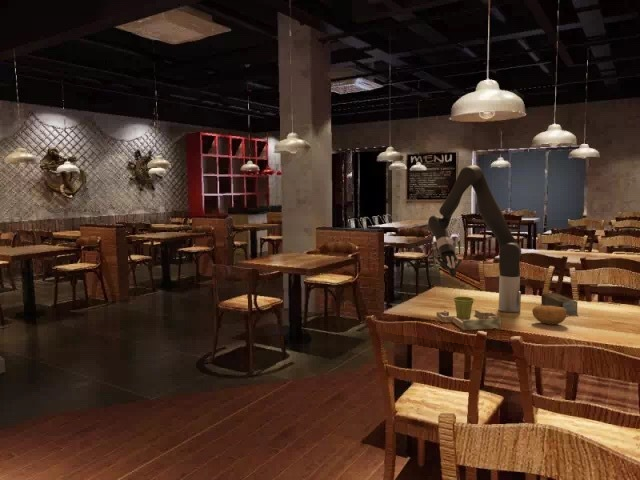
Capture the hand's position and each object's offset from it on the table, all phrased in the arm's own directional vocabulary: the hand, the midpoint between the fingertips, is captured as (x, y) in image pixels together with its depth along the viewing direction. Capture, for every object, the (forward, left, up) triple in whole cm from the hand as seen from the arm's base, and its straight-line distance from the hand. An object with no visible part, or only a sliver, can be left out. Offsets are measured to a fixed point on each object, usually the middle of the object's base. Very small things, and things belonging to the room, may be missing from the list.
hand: (453, 275), depth 248 cm
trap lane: (0, +21, -17) cm, 27 cm away
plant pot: (0, +13, -17) cm, 22 cm away
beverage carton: (-52, +5, -18) cm, 55 cm away
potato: (-33, +29, -17) cm, 47 cm away
